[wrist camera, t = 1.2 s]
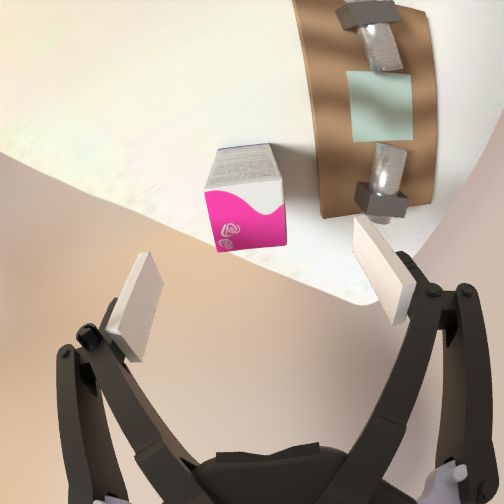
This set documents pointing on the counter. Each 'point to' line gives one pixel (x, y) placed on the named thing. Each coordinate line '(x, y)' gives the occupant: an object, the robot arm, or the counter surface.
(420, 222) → the counter surface
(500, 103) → the counter surface
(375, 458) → the robot arm
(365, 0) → the grey collared shaft
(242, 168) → the supplement box
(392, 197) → the shaft
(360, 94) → the board
